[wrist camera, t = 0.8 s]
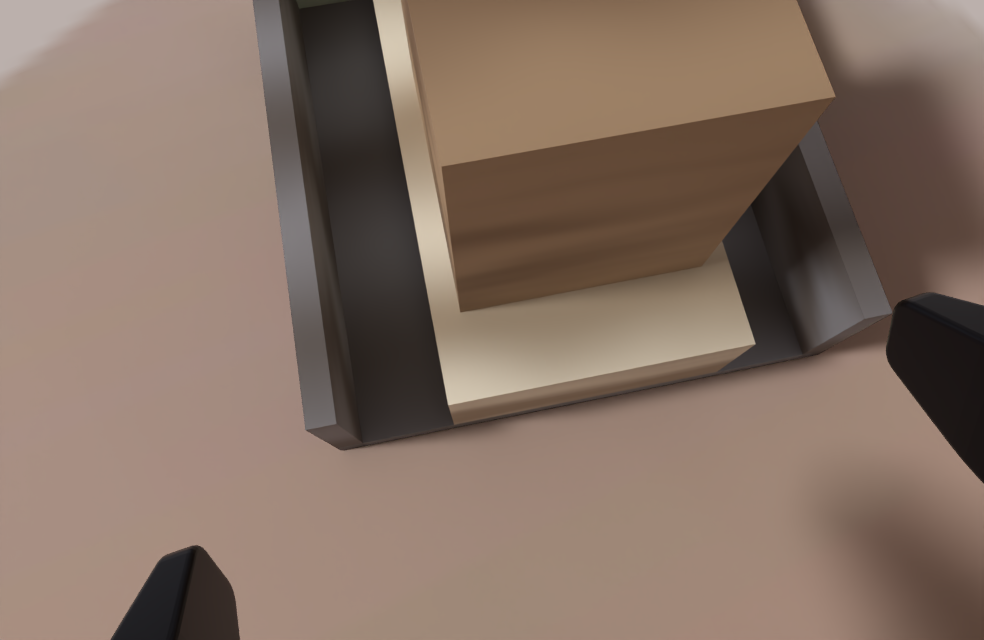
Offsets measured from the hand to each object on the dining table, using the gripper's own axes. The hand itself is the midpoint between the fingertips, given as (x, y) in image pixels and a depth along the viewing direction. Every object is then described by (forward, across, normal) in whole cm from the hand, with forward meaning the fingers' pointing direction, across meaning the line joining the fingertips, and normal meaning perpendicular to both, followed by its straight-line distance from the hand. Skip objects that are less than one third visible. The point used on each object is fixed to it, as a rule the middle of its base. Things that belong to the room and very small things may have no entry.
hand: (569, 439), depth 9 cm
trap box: (+17, -4, +4) cm, 18 cm away
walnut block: (+13, -4, +3) cm, 14 cm away
